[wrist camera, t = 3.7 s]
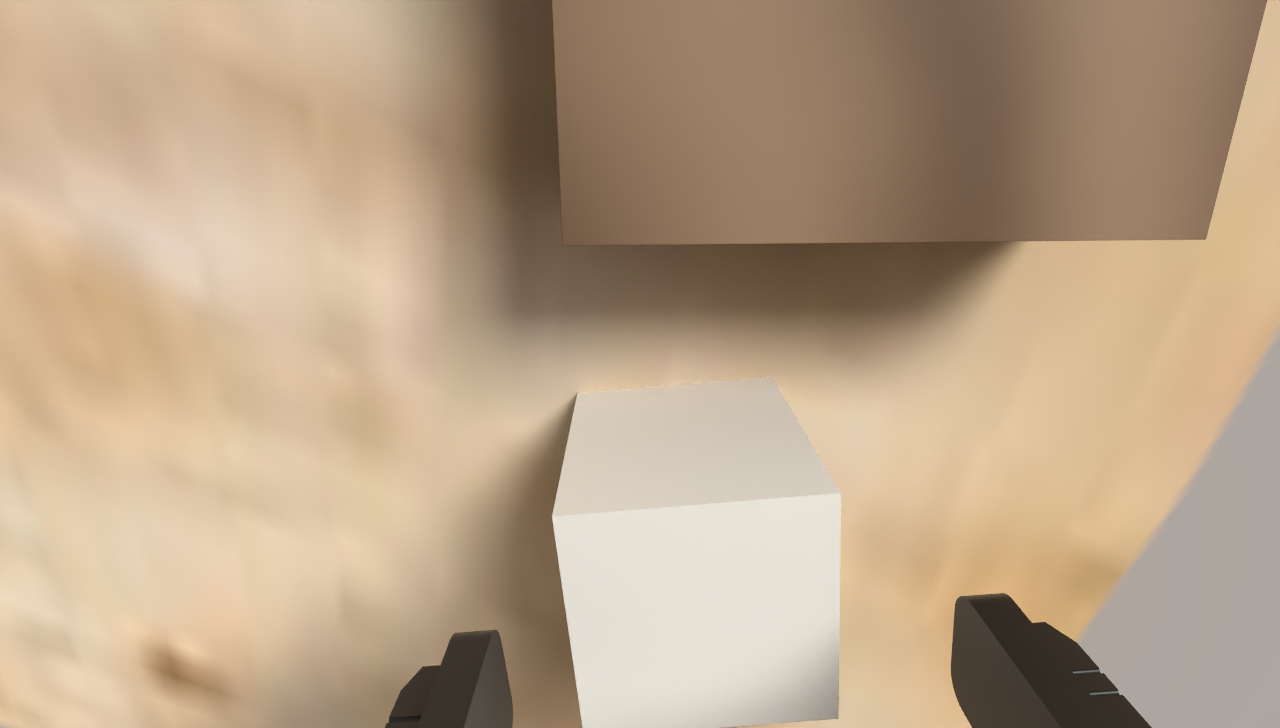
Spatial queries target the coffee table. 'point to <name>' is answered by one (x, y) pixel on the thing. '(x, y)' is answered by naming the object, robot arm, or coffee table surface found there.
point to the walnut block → (895, 119)
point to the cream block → (698, 558)
